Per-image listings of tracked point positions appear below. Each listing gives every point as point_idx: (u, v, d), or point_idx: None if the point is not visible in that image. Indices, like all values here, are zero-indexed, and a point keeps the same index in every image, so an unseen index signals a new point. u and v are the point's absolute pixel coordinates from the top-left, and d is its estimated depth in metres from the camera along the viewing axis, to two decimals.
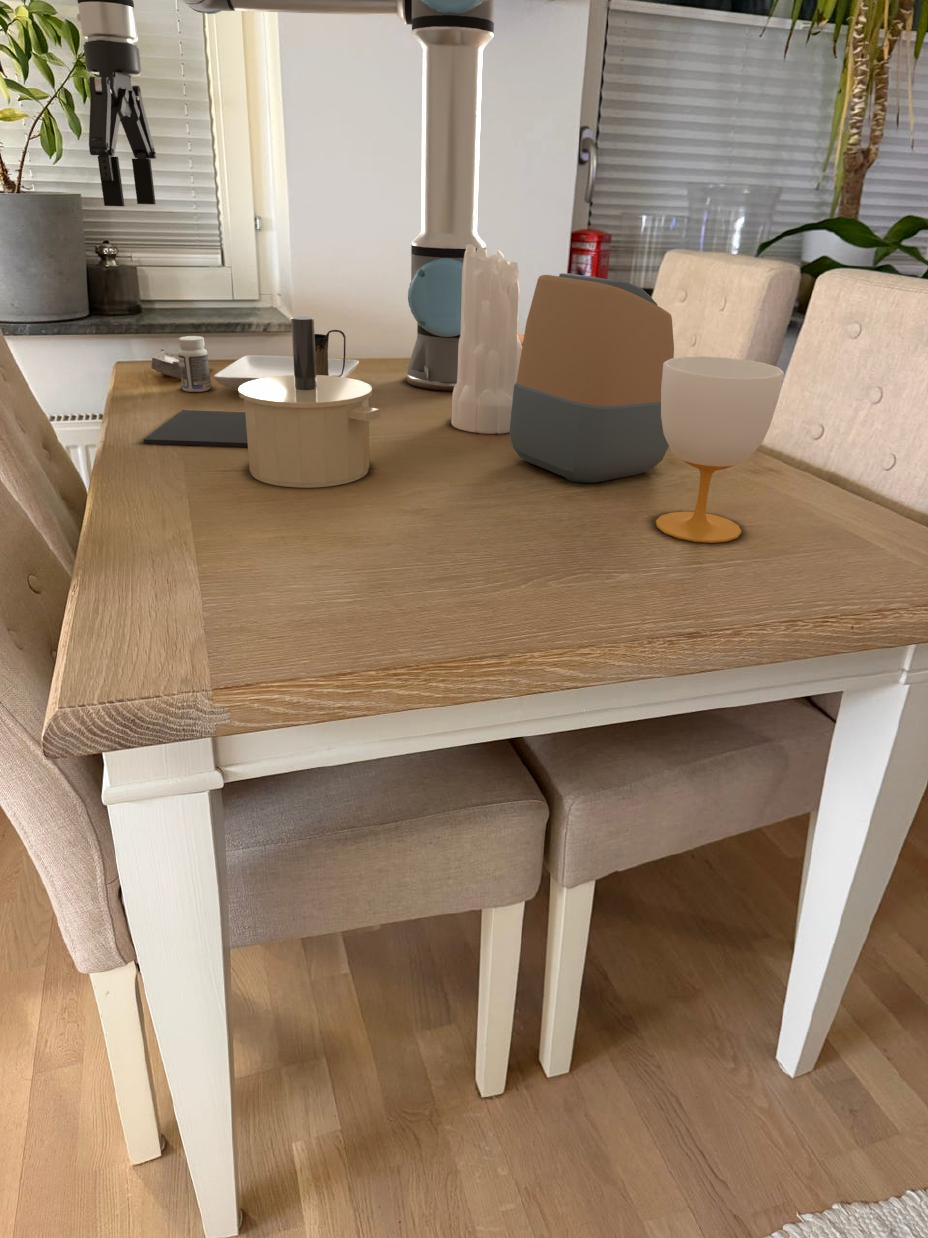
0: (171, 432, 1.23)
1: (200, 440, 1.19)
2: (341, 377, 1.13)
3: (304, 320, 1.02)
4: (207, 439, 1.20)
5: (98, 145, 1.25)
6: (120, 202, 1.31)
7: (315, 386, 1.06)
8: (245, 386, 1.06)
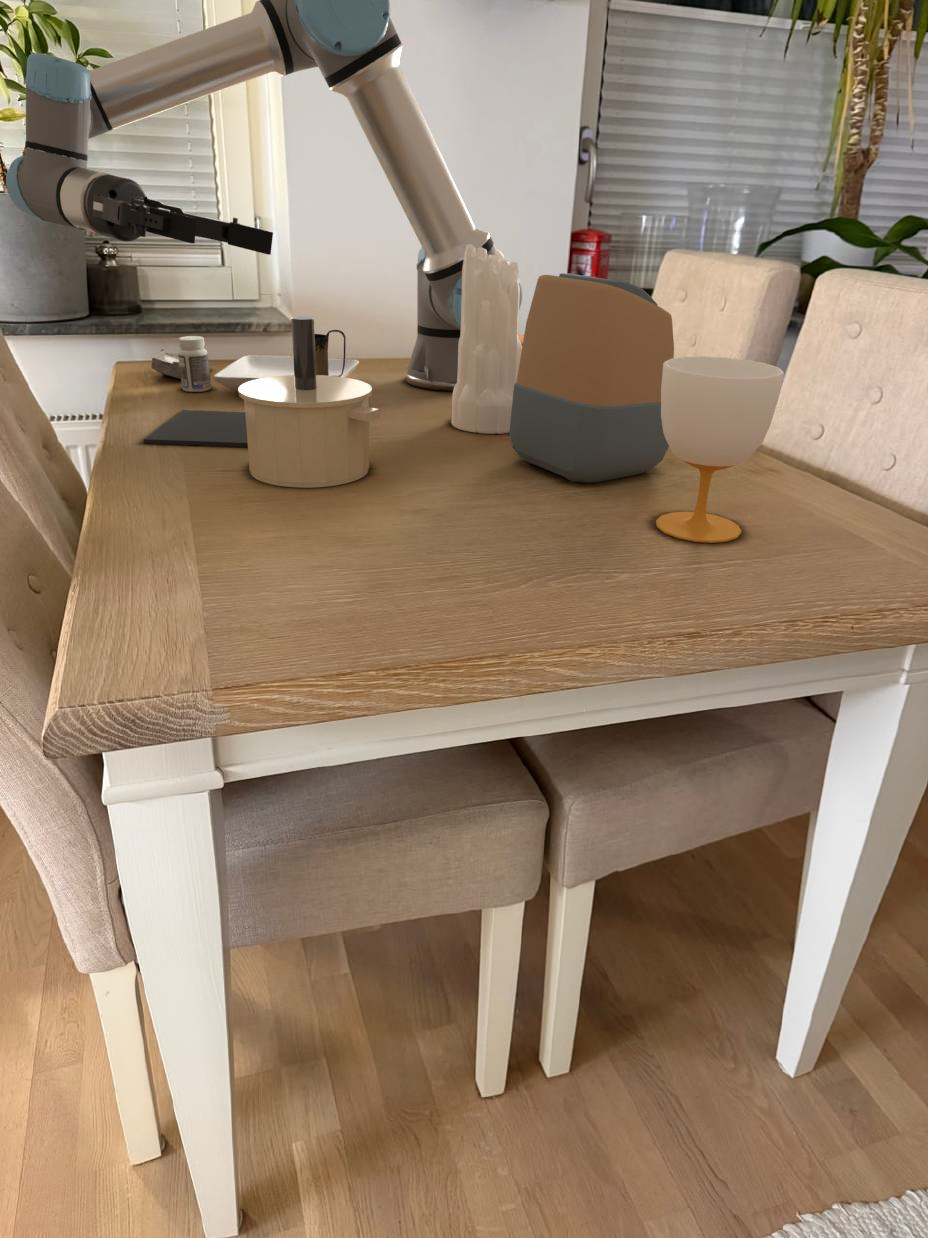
0: (171, 432, 1.23)
1: (200, 440, 1.19)
2: (341, 377, 1.13)
3: (304, 320, 1.02)
4: (207, 439, 1.20)
5: (121, 212, 1.02)
6: (188, 219, 1.01)
7: (315, 386, 1.06)
8: (245, 386, 1.06)
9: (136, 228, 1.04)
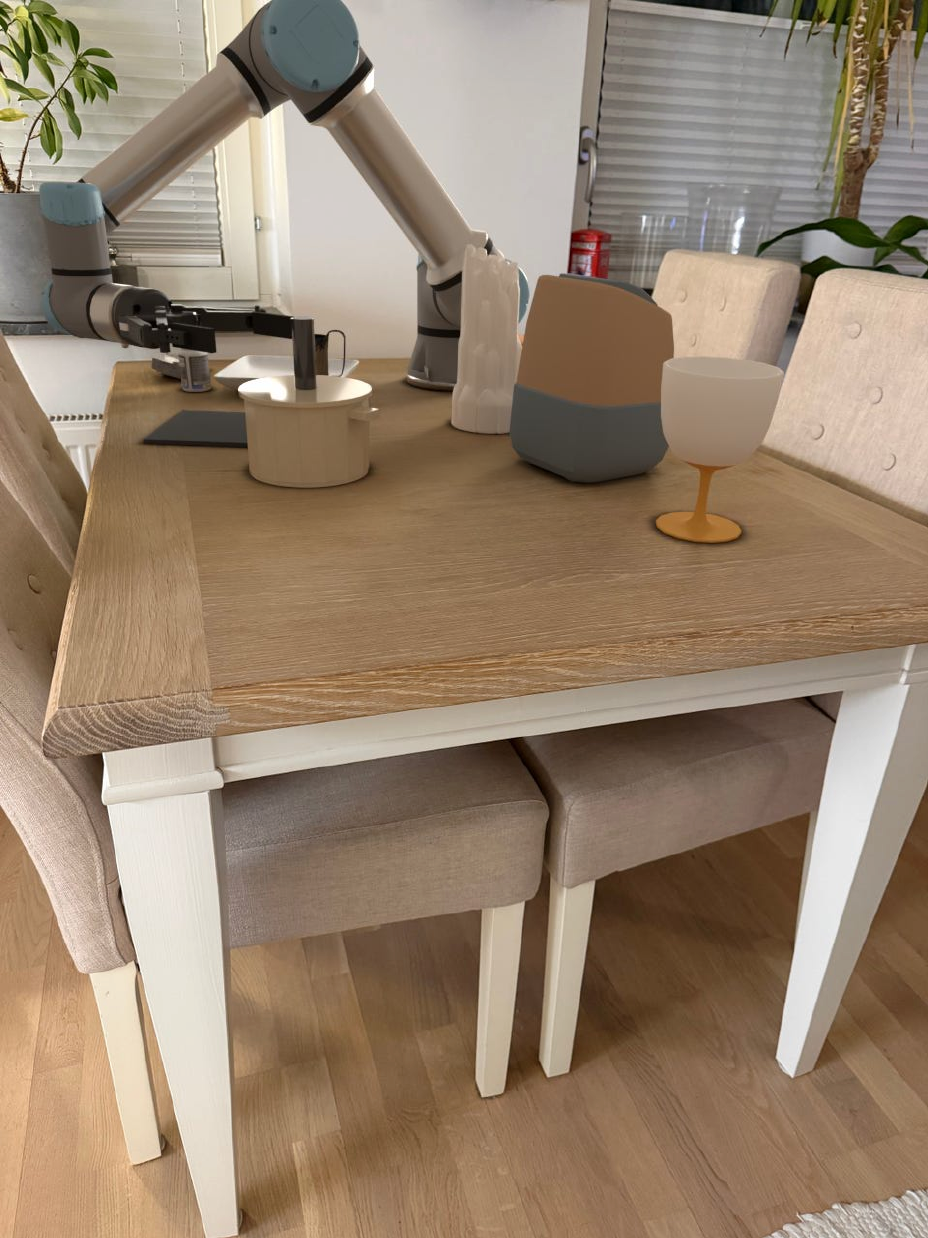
0: (171, 432, 1.23)
1: (200, 440, 1.19)
2: (341, 377, 1.13)
3: (304, 320, 1.02)
4: (207, 439, 1.20)
5: (143, 335, 1.03)
6: (206, 330, 1.02)
7: (315, 386, 1.06)
8: (245, 386, 1.06)
9: (160, 346, 1.05)
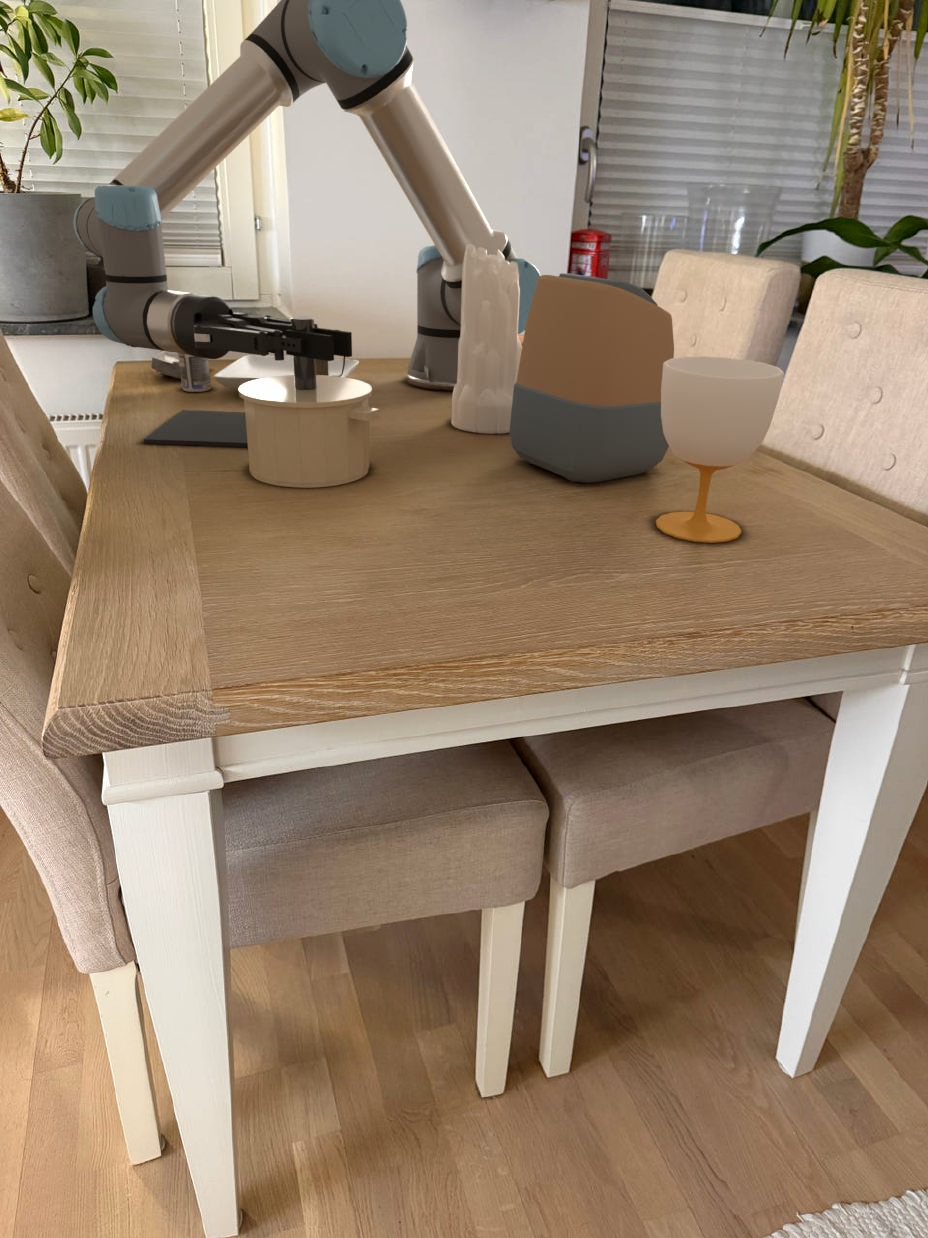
0: (171, 432, 1.23)
1: (200, 440, 1.19)
2: (341, 377, 1.13)
3: (304, 320, 1.02)
4: (207, 439, 1.20)
5: (259, 342, 1.01)
6: (325, 338, 1.00)
7: (315, 386, 1.06)
8: (245, 386, 1.06)
9: (277, 353, 1.03)
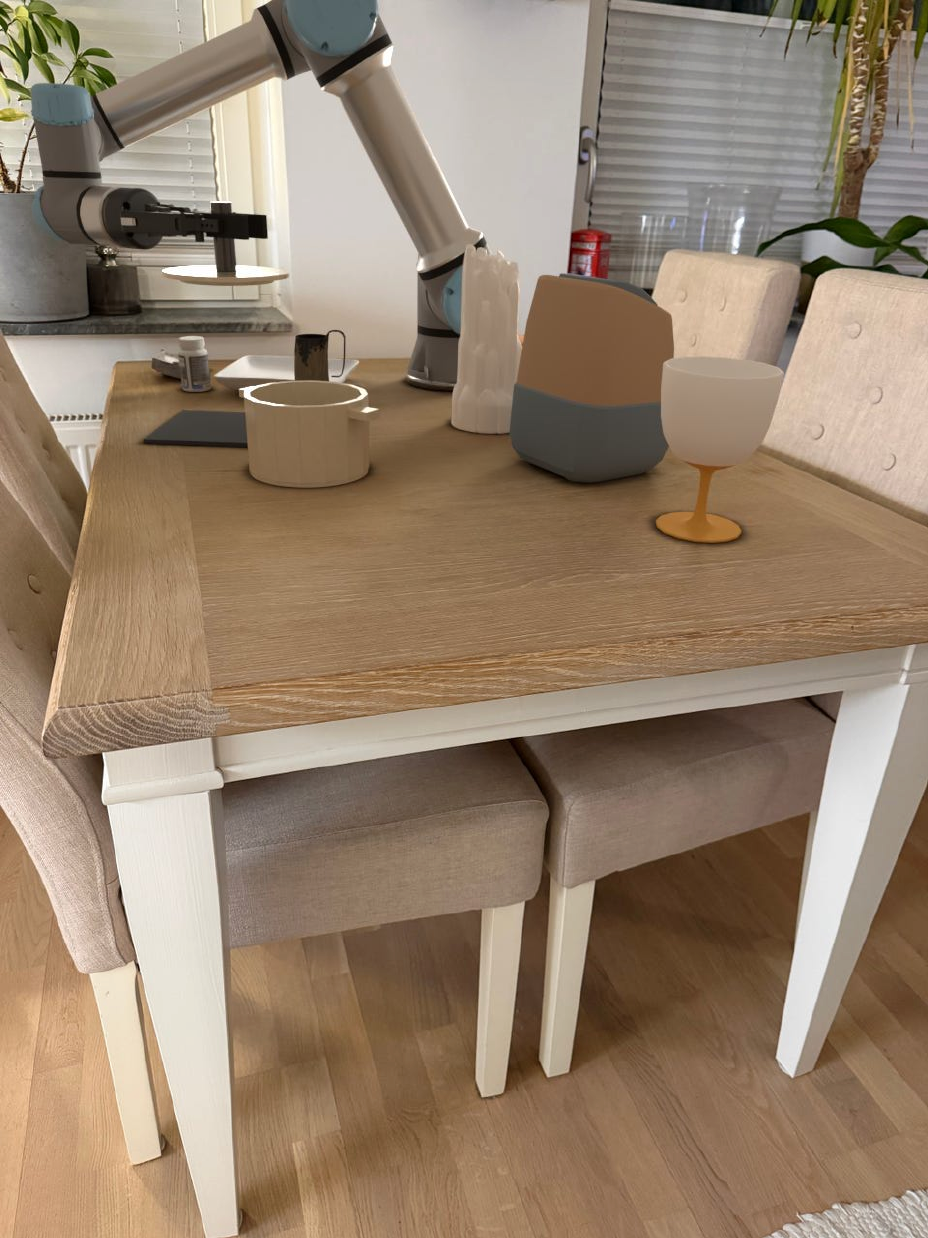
0: (171, 432, 1.23)
1: (200, 440, 1.19)
2: (263, 267, 1.20)
3: (222, 203, 1.10)
4: (207, 439, 1.20)
5: (180, 223, 1.09)
6: (240, 217, 1.08)
7: (235, 269, 1.14)
8: (169, 269, 1.14)
9: (197, 235, 1.11)
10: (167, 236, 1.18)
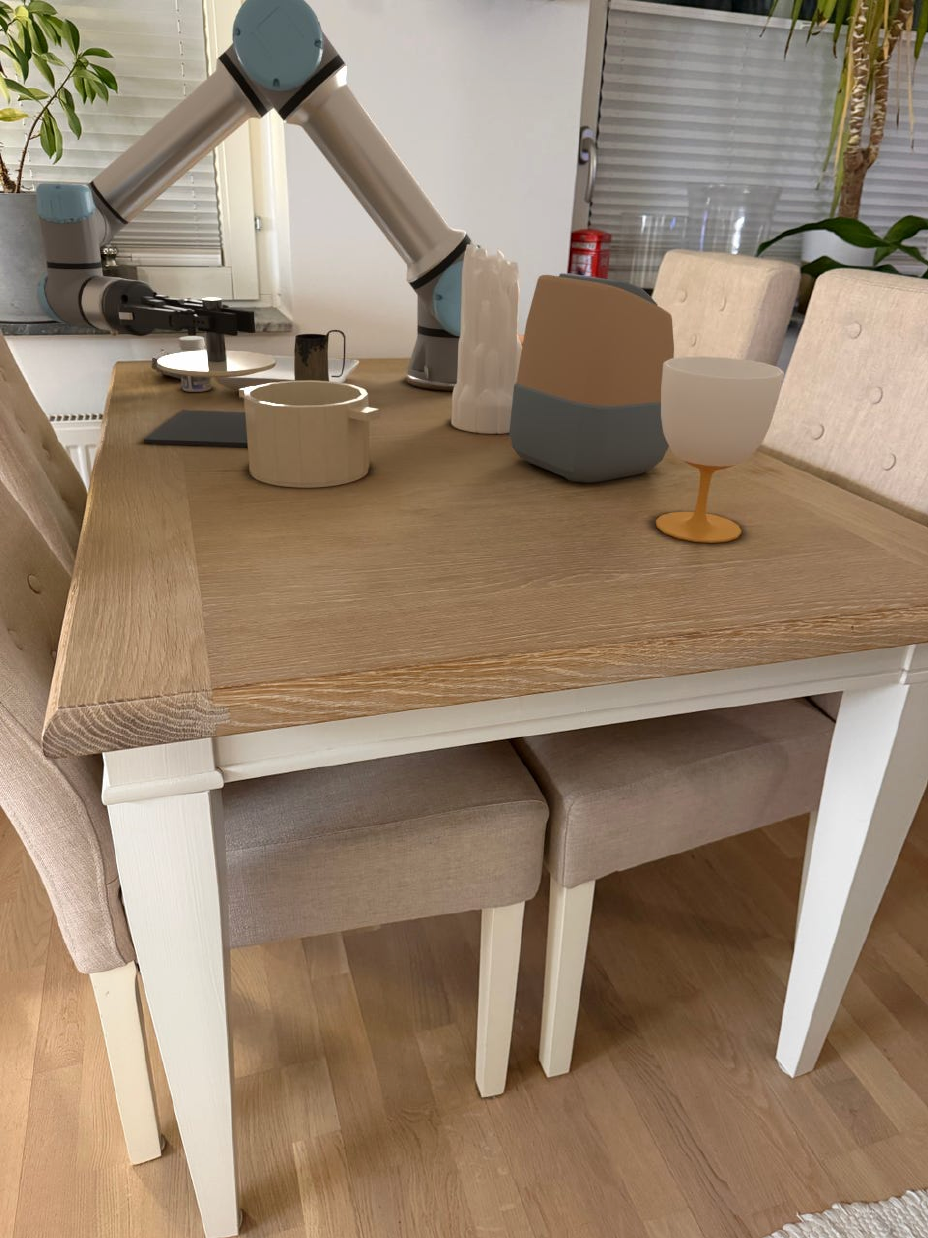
0: (171, 432, 1.23)
1: (200, 440, 1.19)
2: (252, 352, 1.29)
3: (212, 300, 1.18)
4: (207, 439, 1.20)
5: (173, 320, 1.17)
6: (229, 315, 1.16)
7: (225, 358, 1.22)
8: (164, 358, 1.22)
9: (190, 330, 1.19)
10: None
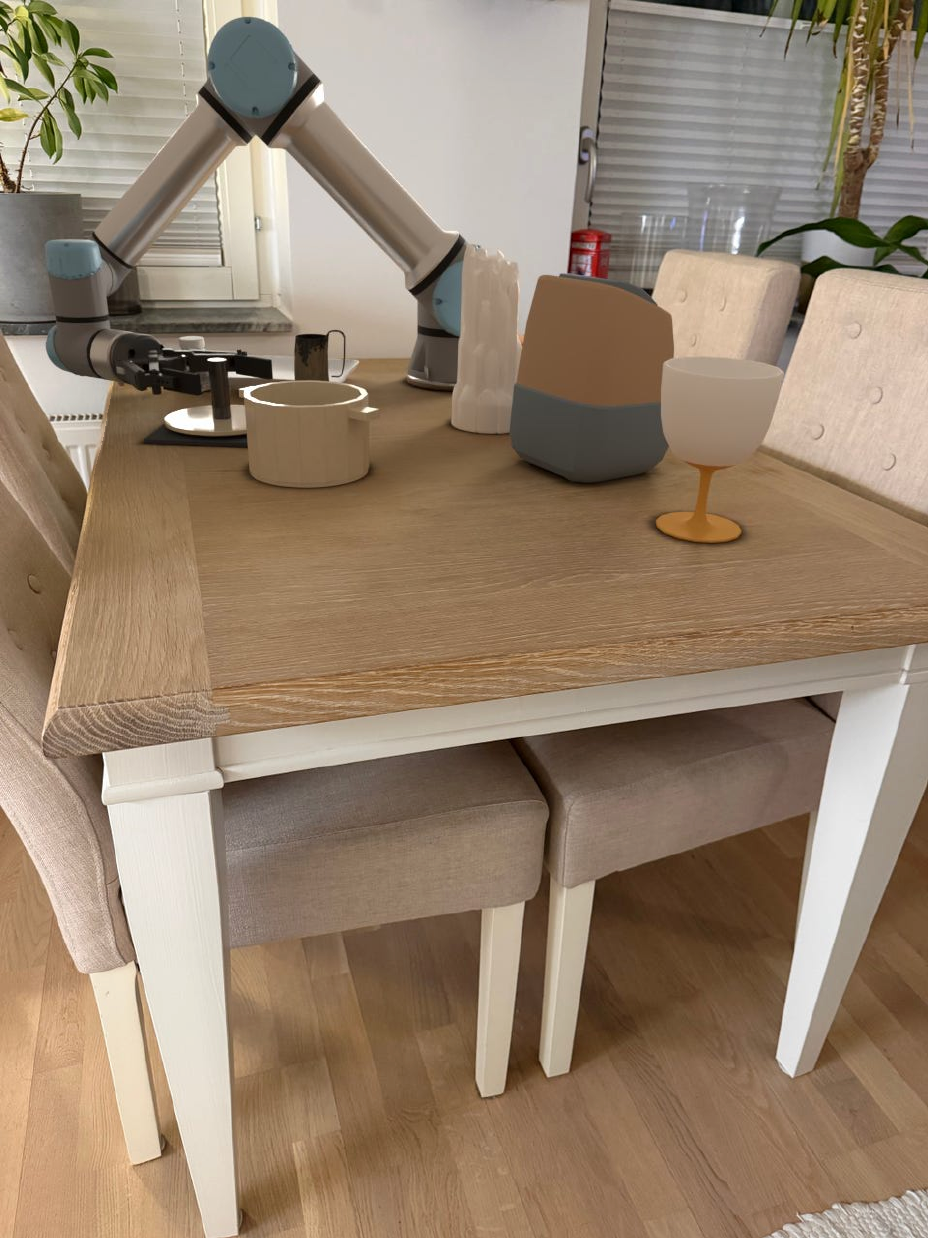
0: (171, 432, 1.23)
1: (200, 440, 1.19)
2: None
3: (218, 361, 1.22)
4: (207, 439, 1.20)
5: (138, 380, 1.18)
6: (193, 376, 1.16)
7: (230, 416, 1.26)
8: (171, 416, 1.26)
9: (152, 388, 1.19)
10: None
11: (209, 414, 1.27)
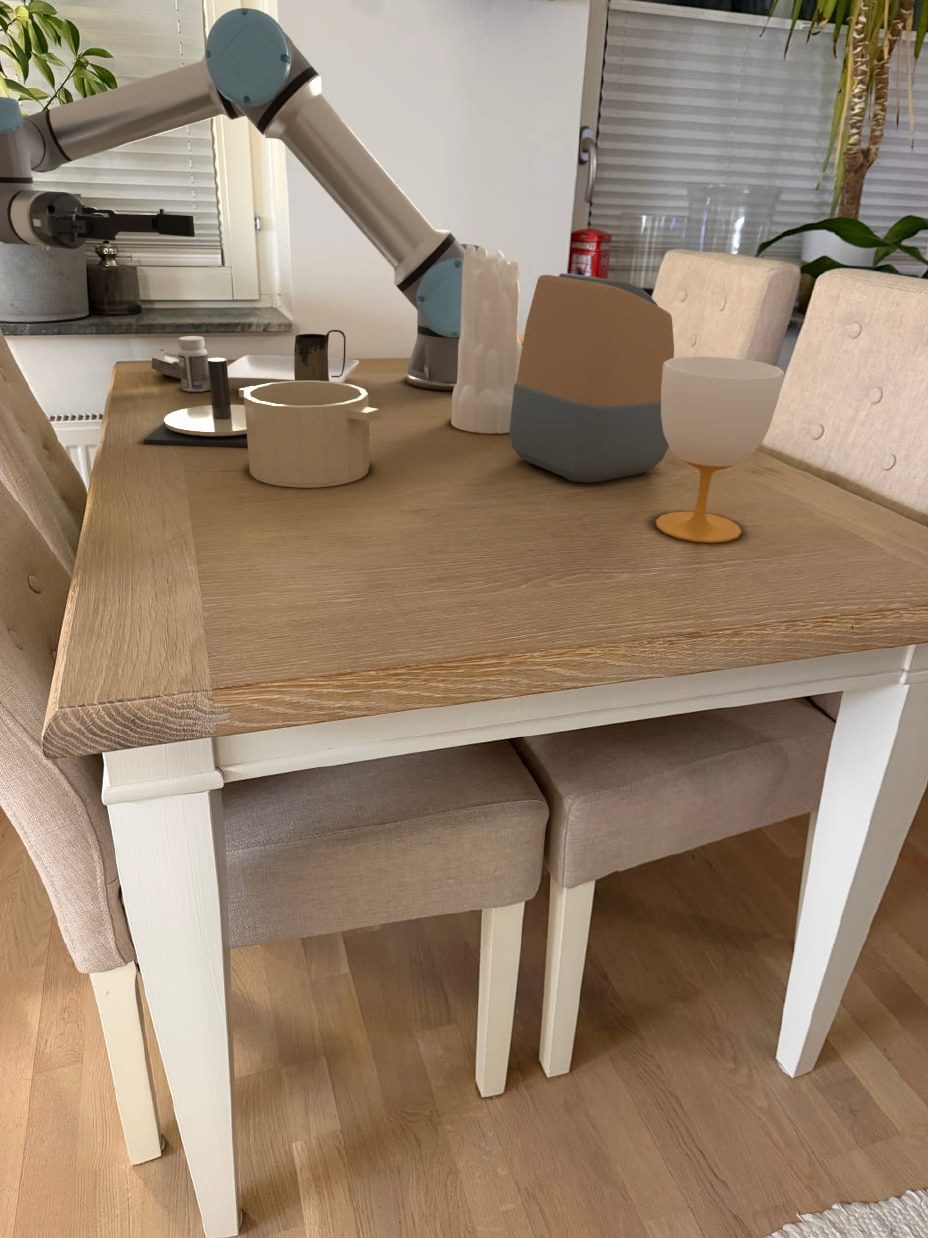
0: (171, 432, 1.23)
1: (200, 440, 1.19)
2: None
3: (218, 361, 1.22)
4: (207, 439, 1.20)
5: (50, 224, 1.16)
6: (105, 219, 1.14)
7: (230, 416, 1.26)
8: (171, 416, 1.26)
9: (67, 236, 1.17)
10: None
11: (209, 414, 1.27)
